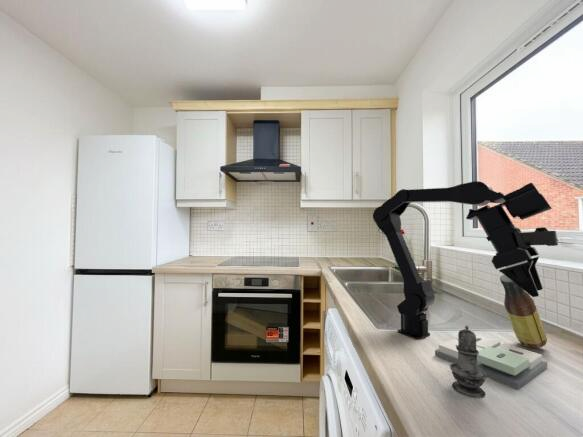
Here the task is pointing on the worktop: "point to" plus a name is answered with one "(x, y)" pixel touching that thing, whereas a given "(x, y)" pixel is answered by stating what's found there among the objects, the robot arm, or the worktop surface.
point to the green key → (502, 361)
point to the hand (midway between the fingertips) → (538, 293)
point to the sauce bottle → (523, 315)
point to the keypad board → (516, 382)
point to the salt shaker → (468, 367)
